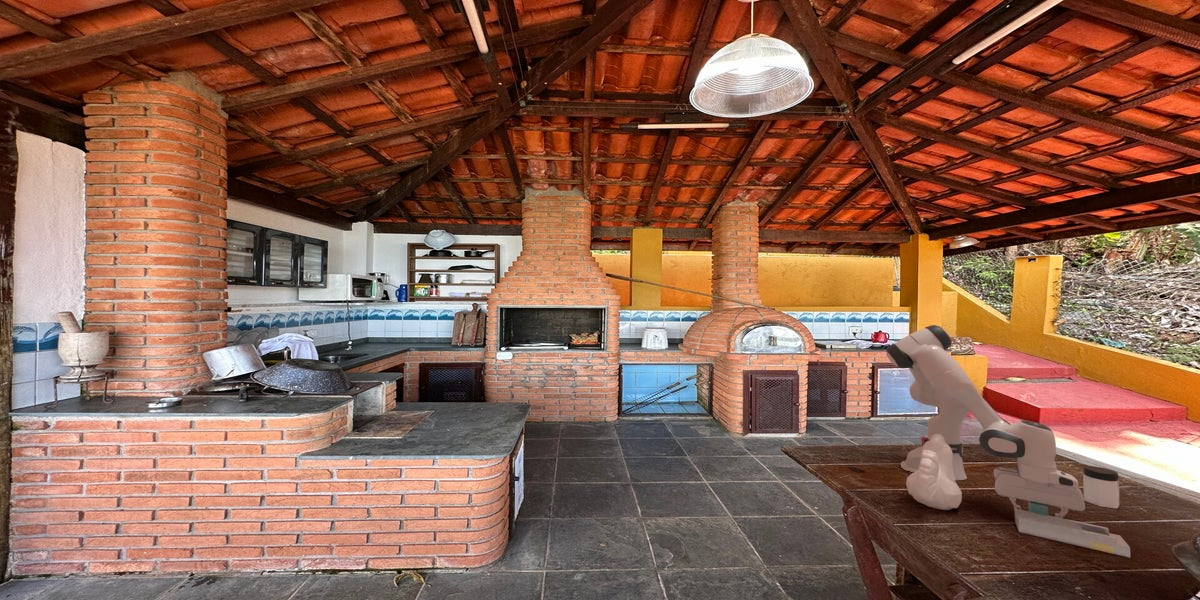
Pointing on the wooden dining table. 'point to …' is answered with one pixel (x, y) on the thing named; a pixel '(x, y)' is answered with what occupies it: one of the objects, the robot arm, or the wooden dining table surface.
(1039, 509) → the block
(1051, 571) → the wooden dining table surface
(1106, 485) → the jar
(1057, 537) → the white long bar
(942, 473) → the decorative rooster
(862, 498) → the wooden dining table surface
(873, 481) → the wooden dining table surface
